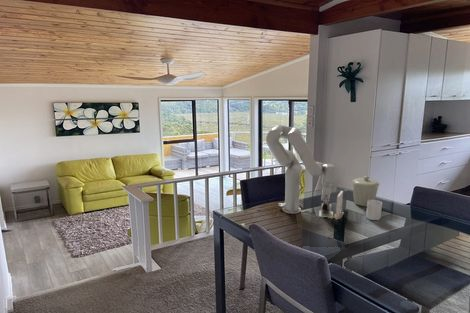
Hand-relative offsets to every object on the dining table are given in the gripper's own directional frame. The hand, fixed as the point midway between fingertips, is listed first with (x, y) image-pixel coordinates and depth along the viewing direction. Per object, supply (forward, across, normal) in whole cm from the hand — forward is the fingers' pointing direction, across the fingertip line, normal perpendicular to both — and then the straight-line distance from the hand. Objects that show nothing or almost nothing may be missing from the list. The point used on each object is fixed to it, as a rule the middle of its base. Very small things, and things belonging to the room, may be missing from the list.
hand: (324, 207), depth 222 cm
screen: (+5, 0, +9) cm, 11 cm away
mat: (+5, 0, +1) cm, 6 cm away
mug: (+4, -4, +31) cm, 32 cm away
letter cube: (+4, 0, +1) cm, 5 cm away
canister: (+4, -26, +28) cm, 38 cm away
